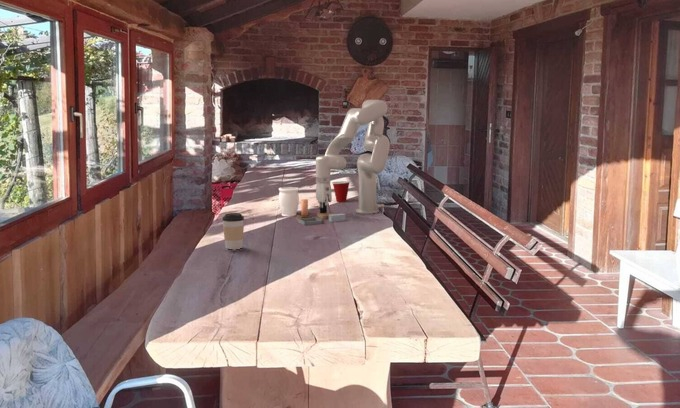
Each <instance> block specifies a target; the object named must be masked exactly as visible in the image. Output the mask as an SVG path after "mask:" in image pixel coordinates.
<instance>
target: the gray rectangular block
mask: <svg viewBox="0 0 680 408" xmlns="http://www.w3.org/2000/svg"><path fill="white" fill-rule="evenodd" d="M346 216H347V215H346V214H345V213H334V214H332V215H329V219H328V222H331V223H333V222H334V223H335V222H343V221H344V222H345V221H346V220H347V219H346V218H347V217H346Z"/></svg>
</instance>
